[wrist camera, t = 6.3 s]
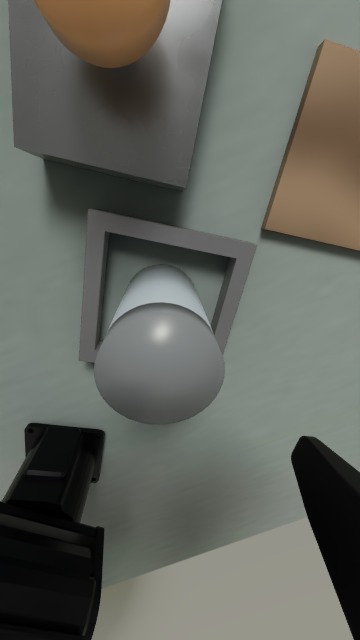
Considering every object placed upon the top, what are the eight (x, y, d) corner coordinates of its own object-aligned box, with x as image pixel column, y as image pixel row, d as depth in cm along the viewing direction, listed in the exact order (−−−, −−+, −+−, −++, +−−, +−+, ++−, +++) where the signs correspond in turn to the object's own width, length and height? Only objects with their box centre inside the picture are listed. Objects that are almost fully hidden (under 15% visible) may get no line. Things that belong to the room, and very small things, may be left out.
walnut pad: (381, 255, 18) (388, 257, 17) (261, 228, 16) (264, 229, 16) (462, 95, 14) (474, 91, 14) (318, 46, 13) (325, 39, 12)
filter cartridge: (188, 335, 19) (207, 430, 11) (122, 325, 19) (89, 417, 10) (203, 271, 17) (240, 328, 9) (130, 257, 17) (99, 304, 8)
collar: (211, 367, 21) (214, 379, 19) (84, 349, 19) (78, 360, 18) (249, 242, 17) (257, 245, 15) (94, 208, 15) (88, 208, 14)
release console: (181, 191, 15) (186, 187, 13) (42, 158, 14) (14, 146, 11) (227, -50, 12) (247, -130, 9) (42, -120, 10) (-1, -237, 8)
